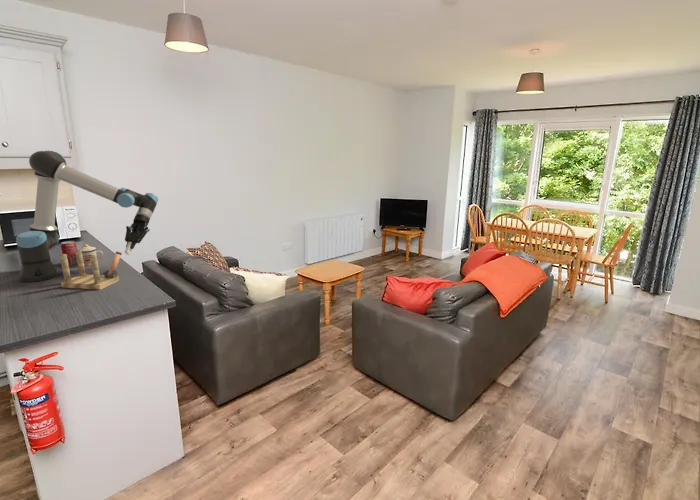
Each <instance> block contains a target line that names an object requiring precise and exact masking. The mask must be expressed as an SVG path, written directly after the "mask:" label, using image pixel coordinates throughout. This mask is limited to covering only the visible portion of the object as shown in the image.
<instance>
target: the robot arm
mask: <svg viewBox="0 0 700 500" xmlns="http://www.w3.org/2000/svg"><path fill="white" fill-rule="evenodd" d="M28 162H29V163H28V164H29V166H30V168H31V169H32V171H34V176H35V178H37V185H36V195H35V196H36V197H35V198H36V199H35V207H34V220H33V221H34V222H33V223H32V224H30V225H29V231H26V232H21V233H19V234H18V235H17V236H15V239H16V242H15V243H16V246H17V251H18V255H19V259H20V264H21V267H20V274H19V281H20V282H23V283H33V282H34V283H35V282H41V281H46V280H51V279H53V278H55V277H57V276H58V275H59V274H58V270H57V269H56V267H55V266H54V263H52V260H51V256H50V255H51V254H50V252H51V250H53V249H54V248H56V247H57V245H58V244H59V241H60V236H59V234H58V231H59V229H58V227H57V226H56V225H55V223H56V215H57V203H58V193H59V184H60V182H61V181H62V182H66V183H67V184H70V185H72V186H74V187H77V188H80V189H82V190H84V191H87V192H89V193H92V194H94V195H96V196H98V197H102V198H103V199H107V200H109V201H111V202H113V203H115V204H118V205H119V206H120V207H122V208H130V207H133V206H135V207H138V209H137V212H136V213H135V216H134V217H133V222H132V223H131V224H130V226H129V225H126V226H125V229H126V232H125V237H124V241H125V242H126V245H125V250H124V254H126V255H128V256H130V255H131V253H132V250H134V248H135V246H136V244H140V243H141V242H142V241H143V239H144V237H146V235H147V233H149V232H150V230H151V229H150V228H149V227H148V225H149V223H150V221H151V219H152V216H153V214H154V212H155V209H156V207H157V205H158V202H159V198H158V196H157V195H156V194H154V193H151V192H146V193H145V194H141V193H139V192H136V191H134V190H132V189H129V188H125V187H121V188H118V187H117V186H114V185H112V184H109V183H107V182H104V181H102V180H101V179H97V178H96V177H93V176H90V175H88V174H86V173H84V172H82V171H79V170H77V169H74V168H73V167H70V166H67V165H68V163H67V160H66V158H65V157H64V156H63V155H62V154H61V153H59V152H57V151H53V150H39V151H35V152H34V153H32V154H31V155H30V157H29V159H28Z"/></svg>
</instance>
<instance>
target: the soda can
mask: <svg viewBox="0 0 700 500" xmlns="http://www.w3.org/2000/svg"><path fill="white" fill-rule="evenodd" d="M60 244H61V245H60V250H61V254H67V259H68V265H69V266H74V265H78V264H77V258H76V252H75V250H78V248H77V244H76V242H75V240H68V241H62V242H61V243H60Z"/></svg>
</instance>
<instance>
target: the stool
mask: <svg viewBox="0 0 700 500" xmlns="http://www.w3.org/2000/svg"><path fill="white" fill-rule="evenodd" d="M75 252H76V258H77V264H76V265H77V270H78V274H79V275H77V276H74V277H71V272H70V271H71V270H70V265H68V259H67V254H62V253H60V254H59V257H60V259H59V260H60V264H61V268H62V269H61V270H62V274H63V280H64V281H62V282H60V285H61V288H66V289H80V290H81V289H85V290H102V289H104V288H107V287H108V286H110V285H114V284H115V283H117V282H119V281H120V278H119V277H120V276H119V275H118V270H115V271H114V272H112V277H109V276H107V275H106V274H107V272H109V269H108V270H105V271H104V272H103V274H100V273H101V272H100V267H99V261H98V260H99V259H97V258H98V255H97V256H96V255H94V256H90V258H91V264H92V265H91V270H92V274H89V273H87V274H86V268H85V267H86V266H84V261H83V256H82V250H81V249H80V248H77V250H75Z"/></svg>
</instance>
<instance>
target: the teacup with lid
mask: <svg viewBox="0 0 700 500" xmlns="http://www.w3.org/2000/svg"><path fill="white" fill-rule="evenodd" d="M79 249H81V250H82V256H83V261H84V267H90V266H91V267H92V264H91V258H90V256H94V255H96V256H97V260H100V259H102V258H103V256H104V252H103V251H101V250H97V248H96V247H94V246H90V245H89V244H87V243H86V244H84V245H83V246H82V247H80V248H79ZM98 253H100V254H101V256H99V257H98V255H97V254H98Z"/></svg>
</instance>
